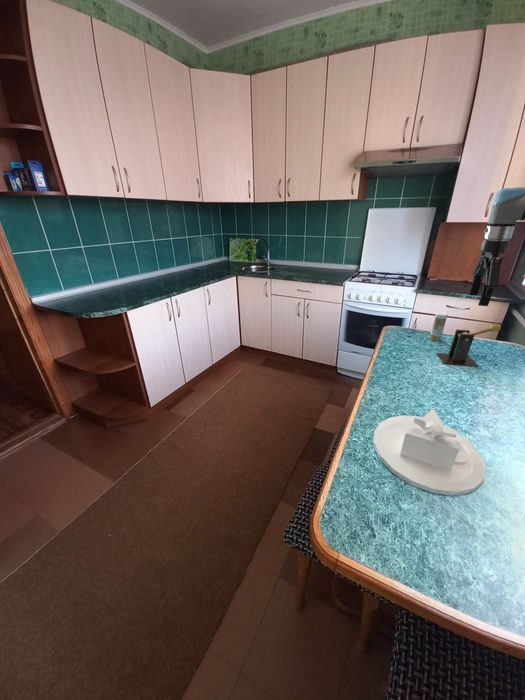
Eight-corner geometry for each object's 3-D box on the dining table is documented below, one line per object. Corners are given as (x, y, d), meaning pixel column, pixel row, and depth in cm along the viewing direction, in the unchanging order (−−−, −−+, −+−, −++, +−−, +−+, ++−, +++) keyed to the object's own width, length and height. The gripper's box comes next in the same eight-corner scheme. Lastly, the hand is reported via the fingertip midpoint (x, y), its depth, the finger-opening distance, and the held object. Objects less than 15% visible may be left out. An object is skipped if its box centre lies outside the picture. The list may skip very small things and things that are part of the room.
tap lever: (498, 328, 106) (497, 321, 105) (503, 332, 104) (501, 324, 103) (458, 339, 111) (457, 332, 110) (461, 343, 108) (460, 335, 107)
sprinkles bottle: (426, 339, 133) (434, 311, 127) (437, 339, 133) (444, 311, 127) (431, 343, 129) (439, 315, 123) (442, 343, 129) (450, 315, 123)
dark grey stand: (467, 358, 116) (477, 328, 111) (477, 369, 109) (488, 338, 103) (435, 355, 119) (443, 326, 113) (442, 366, 111) (451, 336, 105)
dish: (490, 514, 58) (511, 476, 53) (363, 467, 70) (370, 431, 64) (479, 437, 78) (494, 403, 72) (381, 409, 89) (387, 378, 83)
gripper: (473, 236, 110) (458, 291, 119) (495, 243, 89) (474, 309, 99) (497, 236, 108) (480, 292, 117) (524, 244, 87) (501, 311, 96)
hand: (477, 300), depth 108 cm, fingers open, 13 cm apart
